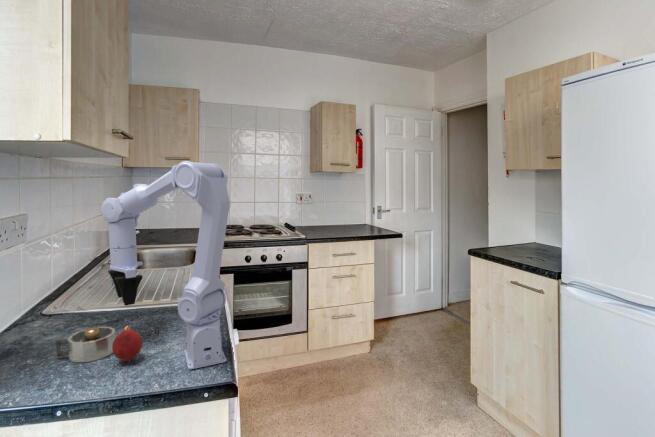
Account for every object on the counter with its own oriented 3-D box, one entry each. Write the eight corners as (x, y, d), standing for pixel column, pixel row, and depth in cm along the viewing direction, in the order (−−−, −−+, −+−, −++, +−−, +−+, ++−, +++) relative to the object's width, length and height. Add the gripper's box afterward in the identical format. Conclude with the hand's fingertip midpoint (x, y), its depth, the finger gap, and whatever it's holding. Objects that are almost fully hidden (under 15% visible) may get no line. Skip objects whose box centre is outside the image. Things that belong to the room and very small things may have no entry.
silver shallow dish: (114, 357, 81) (113, 338, 80) (53, 368, 76) (51, 348, 75) (117, 341, 89) (116, 324, 88) (62, 351, 84) (60, 332, 83)
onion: (139, 365, 77) (138, 330, 76) (109, 369, 75) (107, 333, 75) (145, 353, 82) (143, 320, 82) (117, 357, 81) (115, 323, 80)
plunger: (106, 351, 81) (105, 331, 81) (75, 356, 79) (73, 337, 78) (109, 340, 87) (108, 322, 86) (79, 345, 84) (78, 327, 83)
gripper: (148, 248, 84) (151, 304, 85) (134, 241, 95) (137, 290, 96) (114, 252, 80) (117, 311, 81) (103, 244, 91) (107, 295, 92)
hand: (126, 300), depth 88 cm, fingers open, 7 cm apart
